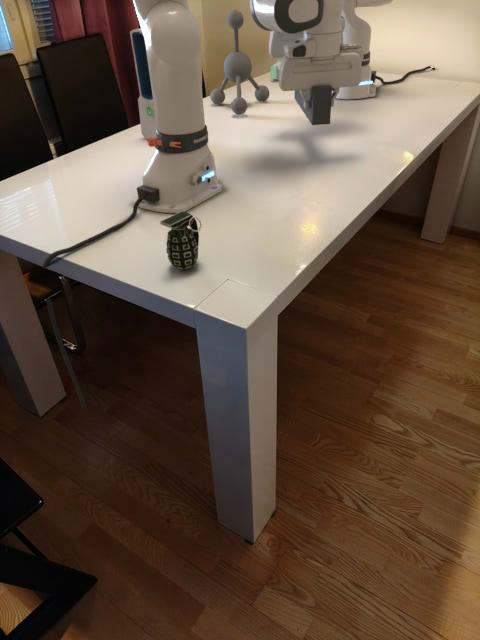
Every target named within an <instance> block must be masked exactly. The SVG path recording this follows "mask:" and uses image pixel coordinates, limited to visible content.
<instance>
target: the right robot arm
mask: <svg viewBox="0 0 480 640" xmlns="http://www.w3.org/2000/svg"><path fill="white" fill-rule="evenodd" d="M393 1H394V0H344V2H343V11H342V14H341V28H342V31H341V44H354V43H357V44H359V45H360V46H362V47H363V49H364V58H363V61H362V62H361V65H362V80H361V83H360V84H359V85H358V86H354V87H340V89H339V93H338V95H337V97H336V98H335V99H340V100H360V99H366V98H374V97H376V94H377V84H375V82H376V80H378V81H379V82H380V84H382V85H392V84H397V83H400V82H403V81H404V80H405V79H406V78H407V77H408V76H409V75H412V74H415V73H416V74H417V73H420V72H421V73H422V72H423V71H427V70H429V69H431V70H432V71H435V70H436V68H435V66H433V67H434V68H431V67H430V66H431V65H427V66H425V67H423V68H420V69H415V70H411V71H408V72H406V74H405V75H403V76H402V77H401V78H399V79H396V80H395V79H394V80H391V81H384V79H383V77H380V76H378V75H377V70H372V68H371V65H370V64H371V51H370V47H371V39H372V38H371V37H372V28H371V25H370V24H369V23H368V22H367V21H366V20H364V19H362V18H361V17H360V16H358V15H357V13H356V8H376V7H381V6H386V5H389V4H391V3H392V2H393ZM269 32H270V34H269V39H268V54H269V56H270V57H271V58H272V59H278V58H281V60H282V59H283V57H285V56H286V55H285V53H284V46H285V45H286V44H288V43H290V42H293V41H295V40H297V39H300V38H302V37H303V31H301V32H298V33H295V34H285V33H280V32H276V31H269ZM359 48H360V47H359ZM332 94H333V91H332Z"/></svg>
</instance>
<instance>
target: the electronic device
mask: <svg viewBox="0 0 480 640" xmlns="http://www.w3.org/2000/svg"><path fill="white" fill-rule="evenodd" d="M129 34H130V42H131V47H132V54H133V60H134V61H133V62H134V65H135V72H136V79H137V86H138V90H139V97H138V98H137V103H138V113H139V123H140V129H141V130H140V131H141V135H142V136H143V138H144V139H146V140H148V139H149V138H150V137H152V138H156V130H157V129H158V128H157V121H156V114H155V108H154V101H153V94H152V85H151V77H150V69H149V62H148V54H147V47H146V42H145V39H144V36H143V33H142V29H141V27H140V28H134V29H132V30H130V31H129Z"/></svg>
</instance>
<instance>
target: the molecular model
mask: <svg viewBox="0 0 480 640" xmlns="http://www.w3.org/2000/svg"><path fill="white" fill-rule="evenodd" d="M244 18H245V17H244V15H243V13H242V12H241V11H239V10H238V9H233V10H231V11H229V13H228V15H227V17H226V23H227V25H228V27H229V28H230V29H232V30H233V44H234V45H233V46H234V51H233V52H230V53H229V54H228V55H227V56H226V58H225V59H224V62H223V72H224V75H225V77H224V79H223V81H222V83H221V85H220V87H218V88H217V87H216V88H214V89H213V90H212V91H210V96H209V97H210V101H211V102H212V103H213V104H214V105H216V106H217V105H221V104H223V103H224V102H225V100H226V94H225V91H224V89H225V87H226V86H227V84H228V81H230V82H232V83H235V84H236V85H235V87H236V97H235V98H234V99H232V102H231V106H230V107H231V110H232V113H234V114H235V115H238V116H239V115H243V114H245V113H246V112H247V110H248V102H247V100H246V99H245V98H243V97H242V83H244V82H245V81H247V80H248V82H249V83H250V84H251V85H252V86H253V87H254V89H255V90H254V97H255V99H256V100H257V101H258V102H261V103H263V102H266V101H267V100H268V99H269V97H270V89H269V88H268V87H267V86H266V85H263V84H261V85H259V84H258V83H257V82H256V80H255V79H254V78H253V77H252V75H251V73H252V70H253V69H252V68H253V66H252V65H253V64H252V61H251V59H250V57H249V55H248V54H246V53H245V52H243V51H240V45H239V29H241V28H242V26H243V25H244V22H245V21H244V20H245V19H244Z"/></svg>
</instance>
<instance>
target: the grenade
mask: <svg viewBox="0 0 480 640" xmlns="http://www.w3.org/2000/svg"><path fill="white" fill-rule="evenodd" d="M198 222H199V226H198ZM159 224H160V225H162V226H164V227H166V228H169V230H168V231H167V236H166V254H167V259H168V261H169V263H170V265H171V266H172V267H174V268H176V269H178V270H181V271H186V270H189V269H192V267H194V266H195V265H196V264H197V262H198V261H197V260H198V259H199V243H200V241H199V240H200V233H199V232H200V231H201V228H202V221H201V220H200V219H199V218H198V217H197V216H194V215H193V214H192V213H189V212H187V211H185V212H184V211H181V212H179V213H174V214H172V215H170V216H169V217H166V218H165V219H162V220H160V222H159ZM198 227H199V228H198Z"/></svg>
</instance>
